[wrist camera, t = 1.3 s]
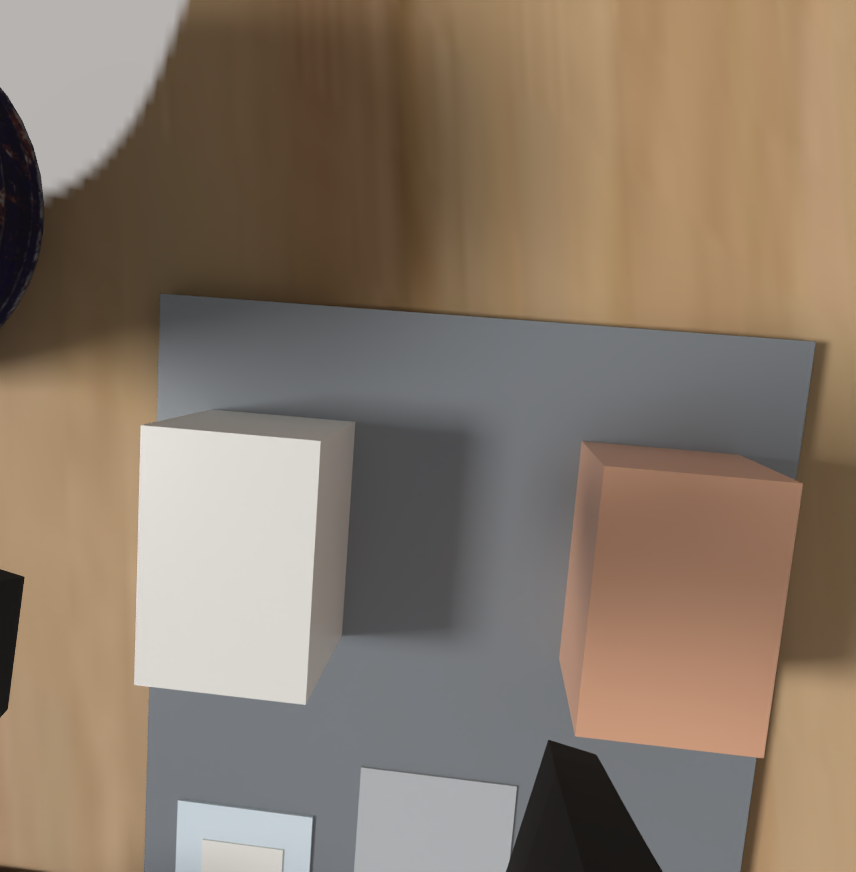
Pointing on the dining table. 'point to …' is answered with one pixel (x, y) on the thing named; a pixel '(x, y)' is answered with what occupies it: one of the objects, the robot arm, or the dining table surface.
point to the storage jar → (17, 208)
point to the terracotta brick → (676, 597)
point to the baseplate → (446, 583)
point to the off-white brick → (241, 552)
